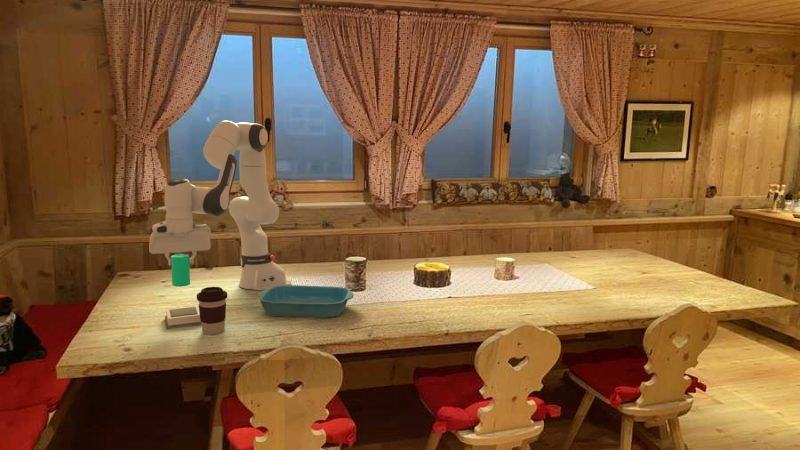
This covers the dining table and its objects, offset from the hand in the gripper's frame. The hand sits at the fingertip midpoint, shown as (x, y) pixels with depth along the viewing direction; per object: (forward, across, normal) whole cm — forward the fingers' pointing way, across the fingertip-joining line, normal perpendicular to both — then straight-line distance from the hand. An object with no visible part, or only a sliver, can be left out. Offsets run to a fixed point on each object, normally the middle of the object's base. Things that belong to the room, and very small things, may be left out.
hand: (181, 264), depth 200 cm
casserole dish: (+22, -44, +4) cm, 49 cm away
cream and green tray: (+21, -2, 0) cm, 21 cm away
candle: (+8, 0, 0) cm, 8 cm away
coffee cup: (+21, -8, +14) cm, 27 cm away
